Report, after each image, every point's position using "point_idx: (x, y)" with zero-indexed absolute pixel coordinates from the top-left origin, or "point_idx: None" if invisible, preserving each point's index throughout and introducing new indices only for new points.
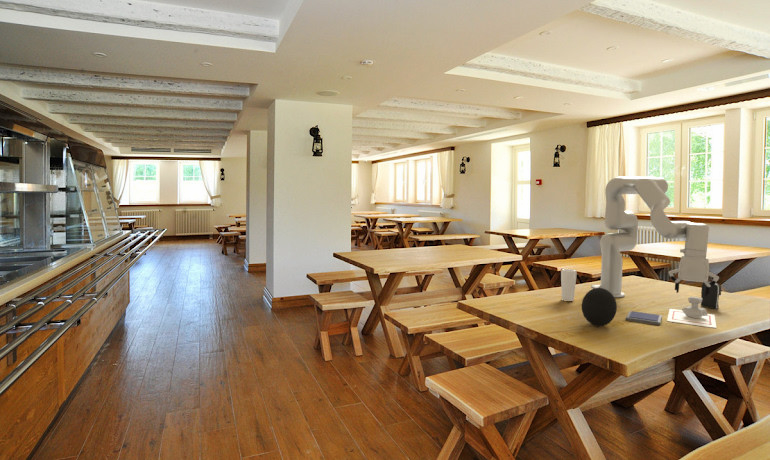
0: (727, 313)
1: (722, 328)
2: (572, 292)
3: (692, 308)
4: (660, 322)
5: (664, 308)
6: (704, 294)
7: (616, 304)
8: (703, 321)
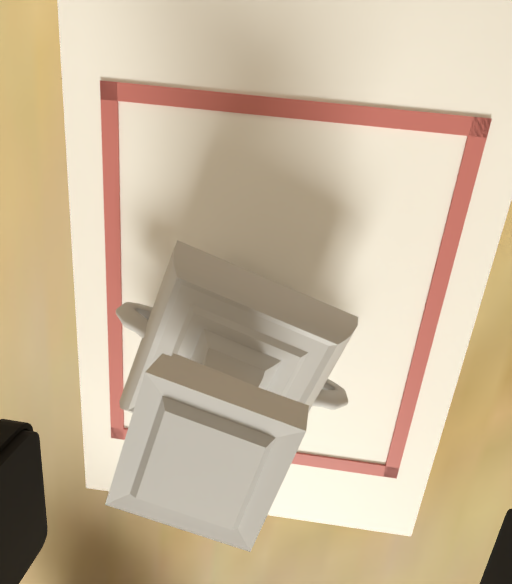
0: None
1: (7, 13)
2: None
3: (254, 342)
4: None
5: (448, 545)
6: (40, 522)
7: None
8: (170, 196)
